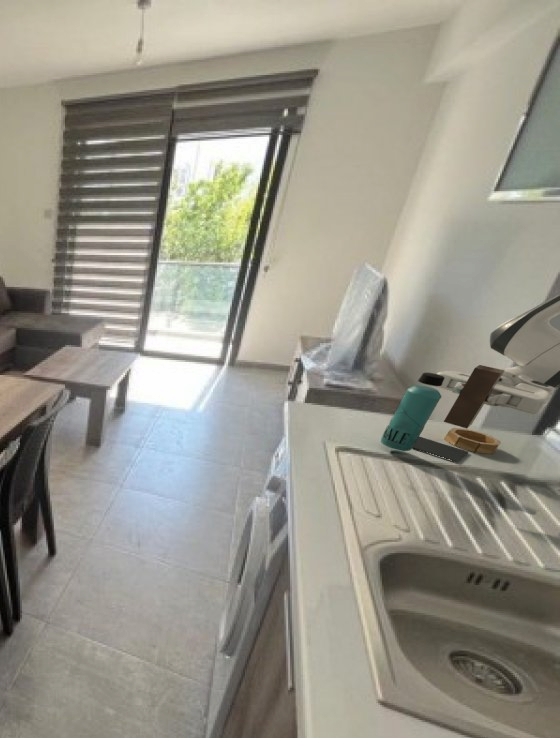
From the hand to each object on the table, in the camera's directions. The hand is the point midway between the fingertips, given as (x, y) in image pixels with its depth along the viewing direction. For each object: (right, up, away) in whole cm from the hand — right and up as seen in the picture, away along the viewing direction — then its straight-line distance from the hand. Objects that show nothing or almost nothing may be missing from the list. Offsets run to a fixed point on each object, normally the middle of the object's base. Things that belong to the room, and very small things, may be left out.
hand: (473, 394), depth 114 cm
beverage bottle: (-14, -14, +5) cm, 21 cm away
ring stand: (+10, -12, +10) cm, 19 cm away
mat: (-2, -13, +7) cm, 15 cm away
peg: (+1, -7, +4) cm, 8 cm away
